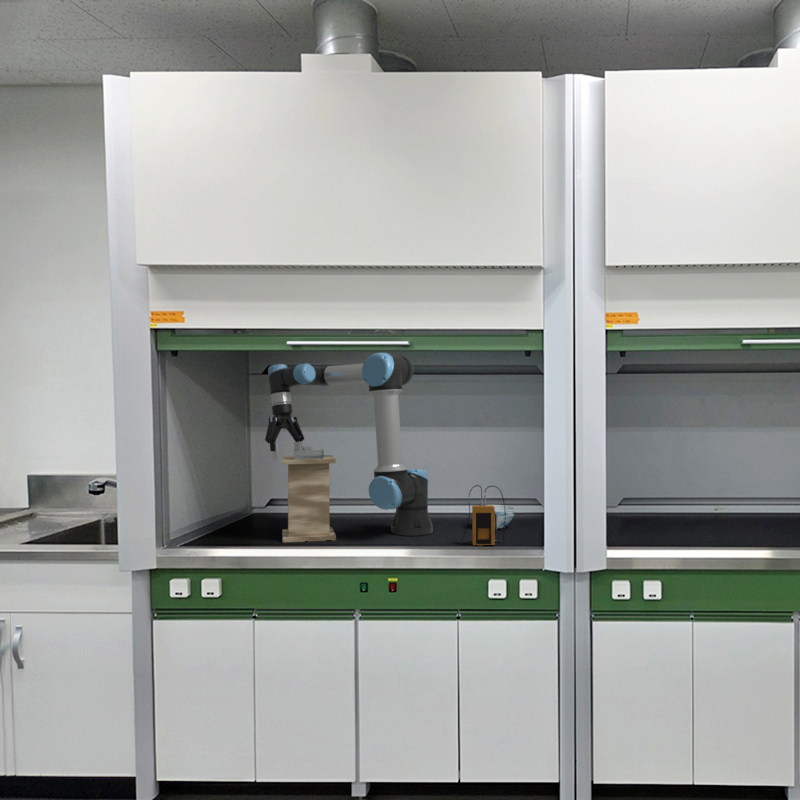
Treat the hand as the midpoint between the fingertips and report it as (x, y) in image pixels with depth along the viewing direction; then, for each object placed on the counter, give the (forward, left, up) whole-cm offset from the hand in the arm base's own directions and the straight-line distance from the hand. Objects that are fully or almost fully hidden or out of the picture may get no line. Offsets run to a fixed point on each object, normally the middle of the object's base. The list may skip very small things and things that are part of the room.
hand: (287, 459), depth 256 cm
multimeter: (-77, -8, -26) cm, 82 cm away
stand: (-19, +12, -26) cm, 34 cm away
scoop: (-15, +7, +2) cm, 17 cm away
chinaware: (-71, -34, -26) cm, 83 cm away
